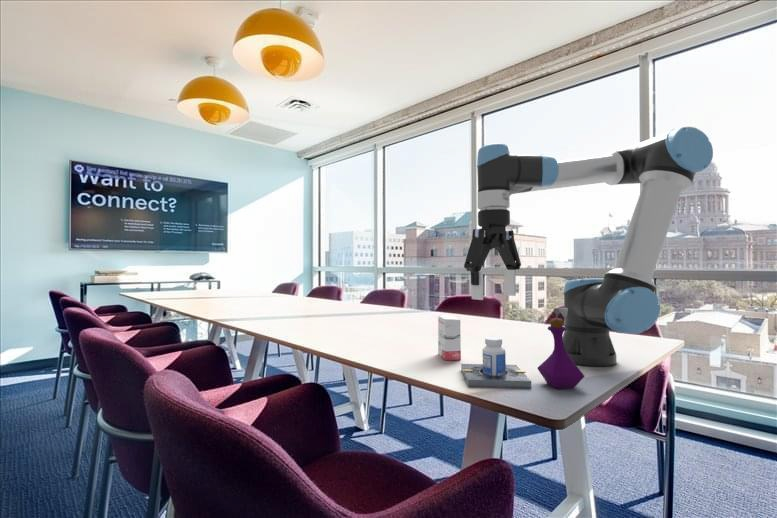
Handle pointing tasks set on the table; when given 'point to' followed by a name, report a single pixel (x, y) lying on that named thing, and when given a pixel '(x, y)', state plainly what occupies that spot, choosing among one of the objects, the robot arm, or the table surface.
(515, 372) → the socket plate
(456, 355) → the ink box
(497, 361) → the pill bottle
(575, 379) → the perfume bottle
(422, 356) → the table surface
